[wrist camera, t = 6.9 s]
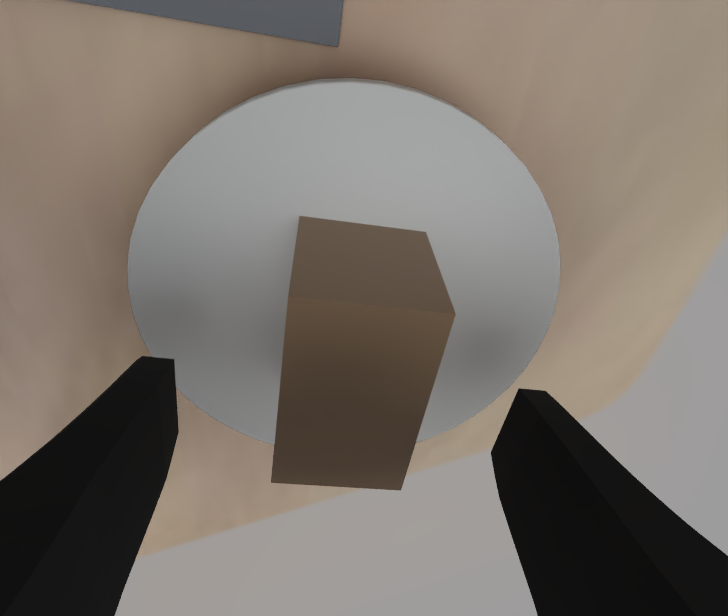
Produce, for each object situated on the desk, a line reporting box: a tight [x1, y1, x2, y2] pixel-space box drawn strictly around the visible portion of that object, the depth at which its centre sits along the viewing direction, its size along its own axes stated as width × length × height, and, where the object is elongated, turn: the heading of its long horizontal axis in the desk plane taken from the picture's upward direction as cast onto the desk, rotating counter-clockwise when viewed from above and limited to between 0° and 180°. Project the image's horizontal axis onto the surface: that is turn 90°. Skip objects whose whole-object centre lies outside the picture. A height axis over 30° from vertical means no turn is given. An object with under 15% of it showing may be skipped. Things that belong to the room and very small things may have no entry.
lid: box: [127, 78, 560, 490], centre depth 12 cm, size 11×11×4 cm
